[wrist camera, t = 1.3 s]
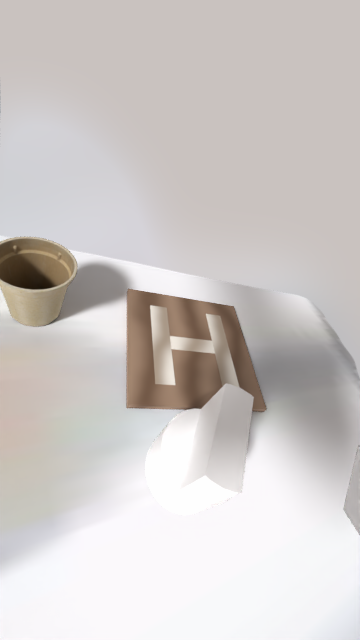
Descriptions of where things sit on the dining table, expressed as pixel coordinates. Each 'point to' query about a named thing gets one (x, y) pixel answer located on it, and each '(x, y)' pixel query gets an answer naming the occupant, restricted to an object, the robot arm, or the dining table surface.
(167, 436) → the base with upright slab
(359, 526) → the robot arm
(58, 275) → the flower pot
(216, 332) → the letter board
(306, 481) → the dining table surface
